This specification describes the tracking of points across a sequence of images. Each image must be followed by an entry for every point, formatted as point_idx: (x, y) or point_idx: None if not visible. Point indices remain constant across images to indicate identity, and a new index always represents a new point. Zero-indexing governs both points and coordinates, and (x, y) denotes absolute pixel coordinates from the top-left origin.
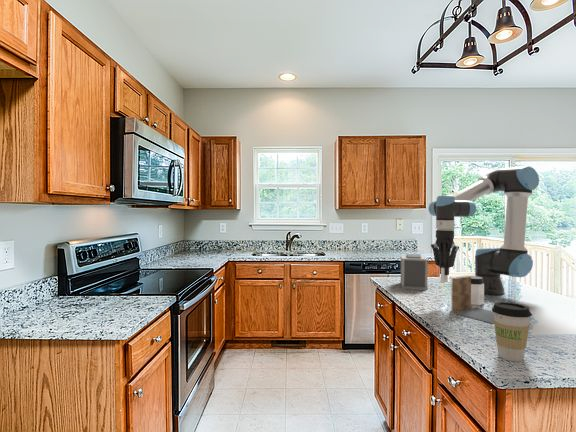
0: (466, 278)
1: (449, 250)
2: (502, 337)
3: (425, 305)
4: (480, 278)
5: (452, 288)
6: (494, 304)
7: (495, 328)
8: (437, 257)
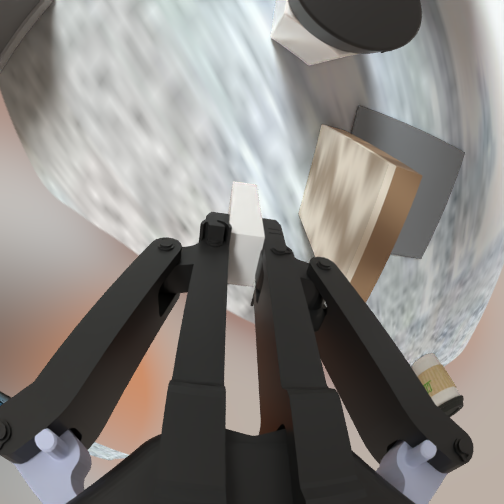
0: (400, 221)
1: (324, 424)
2: None
3: (194, 221)
4: (416, 18)
5: None
6: None
7: None
8: (146, 335)
